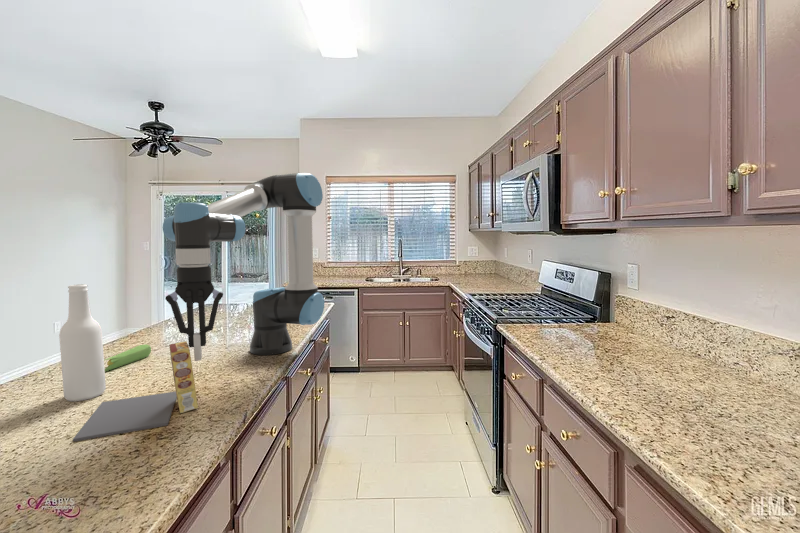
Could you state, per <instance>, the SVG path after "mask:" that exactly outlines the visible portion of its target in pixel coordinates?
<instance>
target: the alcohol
mask: <svg viewBox="0 0 800 533" xmlns="http://www.w3.org/2000/svg"><path fill="white" fill-rule="evenodd" d="M88 287H89V286H88V285H87V284H85V283H84V284H82V283H81V284H69V285H68V286H67V289H68V291H67V293H68V317H67V320H66V322H65V323H63V325H62V326H61V328H60V331H59V334H58V335H59V336H58V337H59V338H58V339H59V349H60V350H59V351H60V363H61V374H62V376H61V377H62V387H63V388H62V391H63V398H64V399H66V401H67V402H82V401H85V400H91V399H94V398H97V397H99V396H101V395H103V394H104V392H105V391H106V389H107V388H106V384H107V383H106V371H105V357H104V344H103V343H104V342H103V339H104V338H103V329H102V327H101V323H99V322H98V321H97V320H95V318H94V317H93V316H92V312H91V306H90V300H89V294H88V291H89V289H88Z"/></svg>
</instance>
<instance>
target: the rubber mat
mask: <svg viewBox="0 0 800 533" xmlns="http://www.w3.org/2000/svg"><path fill="white" fill-rule="evenodd" d="M176 402H177V395H176V390H175V391H170V392H161V393H155V394H150V395H141V396H135V397H128V398H127V397H126V398H121V399H114V400H108V401H107V400H106V401H102V402H100V405H98V407H97V408H96V409H95V410H94V412H93V413H92V415H90V416H89V418H88V419H87V421H86V422H85V423H84V424H83V426H82V427H81V428H80V429H79V431H78V432H77V433H76V434H75V436H74V437H73V438H72V442H73V441H75V442H78V441H84V440H85V441H86V440H91V438H92V439H97V438H96V437H98V438H103V437H107V436H106V435H109V436H114V434H115V435H120V433H121V434H126V433H130V432H137V431H143V430H149V429H154V428H160V427H165V426H167V427H168V425H169V423H170V419H171V416H172V413H173V411H174V408H175V405H176ZM102 436H103V437H102Z"/></svg>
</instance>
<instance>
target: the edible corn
mask: <svg viewBox="0 0 800 533" xmlns="http://www.w3.org/2000/svg"><path fill="white" fill-rule="evenodd" d="M151 352H152V348H151V345H149V344H139V345H137V346H135V347H133V348H130V349H128V350H125V351H122V352H121V353H120V352H119V353H118V354H116V355H112V356H110V357H107V358H104V361H107V360H108V361H107V362H106V366H107V367H106V368H105V367H104V369H105V373H107V372H109V370H110V371H112V370H114V369H117V368H121V367H124V366H126V364H127V365H129V364H132V363H135V362H138V361H141V360H143V359H146V358H148V357H149V356H150V354H151ZM145 357H146V358H145ZM140 359H141V360H140ZM137 360H138V361H137ZM123 365H124V366H123ZM120 366H121V367H120Z"/></svg>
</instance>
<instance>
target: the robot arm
mask: <svg viewBox="0 0 800 533" xmlns="http://www.w3.org/2000/svg"><path fill="white" fill-rule="evenodd" d="M323 198H324V197H323V189H322V185H321V183H320V181H319V180H318V178H317V177H316V176H315V175H313V174H312V173H308V172H299V173H298V172H296V173H288V174H287V173H286V174H275V175H269V176H267V177H264V178H262V179H259V180H257V181H255V182H253V183H251V184H247V185H245V187H244V189H243V190H241V191H239V192H236V193H234V194H231V195H229V196H226V197H224V198H221V199H219V200H216V201H214V202H211V203H208V204H206V203H203V202H178V203H176V204H175V205H174V208H173V209H174V210H173V215H169V216H167V217H166V219H164V220H163V223H162V233H163V234H164V236H165V238H166V239H167V240H169V241H171V242H175V262H176V264H175V265H177V266H178V267H177V268H176V282H177V284H176V287H175V289H174V291H173V292H171V293H170V294H167V295H166V296H165V300H166V302H167V303H168V304H169V305H170V307H171V310H172V314H173V316H174V319H175V322H176V325H177V328H178V331H179V333H180V334H186V335H187V337H188V346H189V348H193V354H194V355H193V358H194V362H198V361H202V358H203V355H202V354H203V351H202V347H205V346H206V345H207V333H209V332H210V331H213V329H214V325H215V321H216V317H217V311H218V307H219V302H220V301H221V300H222V298H223V296H224V293H223V292H224V291H223V292H222V291H219V290H217V289H215V287H214V285H213V282H212V266H209V265H210V264H212V262H211V242H217V243H218V242H219V243H220V242H221V243H223V242H227V243H229V242H230V243H232V242H238V241H240V240H241V239H243V237H244V236H245V233H246V224H245V220H244V219H243V217H245V216H246V215H248V214H251V213H252V212H255V211H257V212H261V211H263V210H266V209H273V208H282V212H283V214H285V215H286V219H287V255H288V262H287V263H288V265H287V266H288V284H287V285H285V287H284V286H282V287H281V286H279V287H273V288H267V289H261V290H256V291H255V292H253V295H252V296H253V297H252V299H253V300H252V308H253V309H252V312H253V328H254V329H253V330H254V331H253V333H252V337H251V340H250V343H249V352H250V353H251V354H253V355H256V356H257V355H258V356H269V355H278V354H283V353H286V352H289V351H291V350H292V349H293V341H292V338H291V336H290V333H289V330H288V328H287V327H288V326H287V324H291V325H301V326H306V325H307V326H313V325H314V324H317V323H318V321H320V319H321V317H322V316H323V314H324V310H325V304H326V303H325V297H324V295H323V293H320V292H318V291H319V288H318V285H316V284H315V283H314V258H313V257H314V253H313V251H314V249H313V248H314V246H313V216H314V215H315V214H316V213H317V207H318V206H320V205H321V204H322V201H323ZM211 295H212V298H213V302H212V307H211V312H210V316H209V321H208V325H206V309H205V302H206V301H207V300H208V299H209V297H210V296H211ZM178 297H179V298H180V299H181V300H182V301H183V302H184V303H186V319H187V323H186V324H187V327H186V324H185V321H184V318H183V315H182V312H181V310H180V306H179V303H178V302H177V301H178V300H179V299H178ZM194 304H198V305H197V306H198V322H199V326H198V327H199V332H195V321H194V319H195V318H194V317H195V316H194V315H195V314H194Z"/></svg>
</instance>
